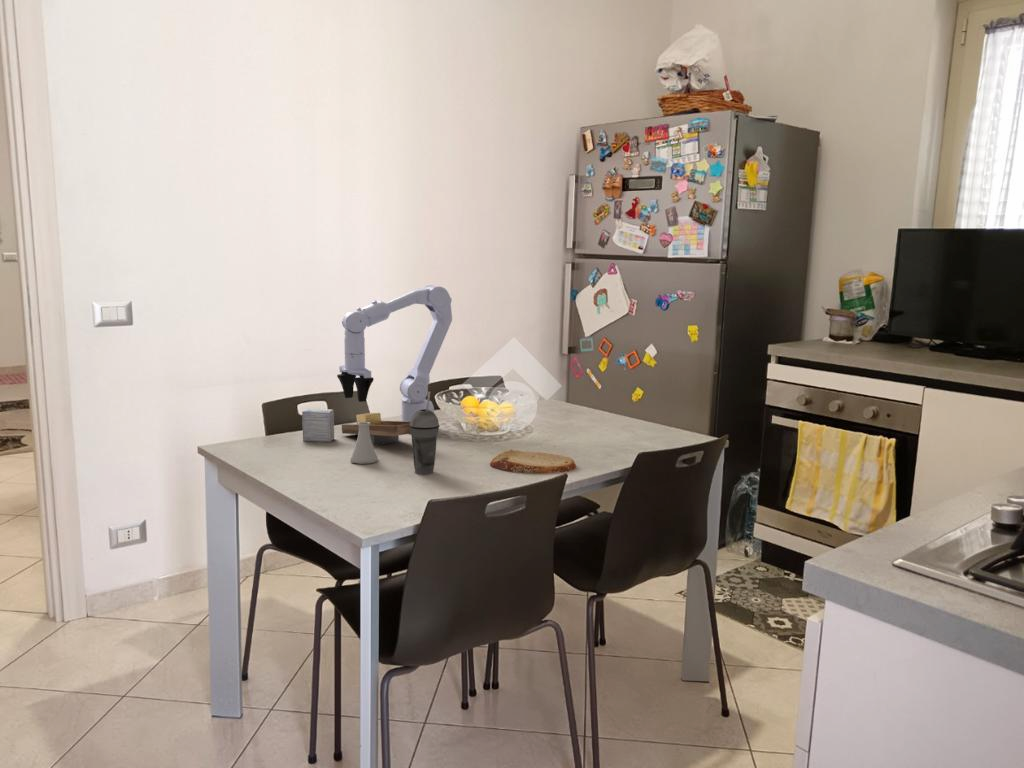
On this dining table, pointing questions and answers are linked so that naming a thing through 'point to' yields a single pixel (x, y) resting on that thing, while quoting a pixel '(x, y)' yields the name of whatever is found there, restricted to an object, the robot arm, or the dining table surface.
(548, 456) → the slice of bread
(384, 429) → the beam
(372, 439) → the fulcrum
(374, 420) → the wood grain cube
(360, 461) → the flask
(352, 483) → the dining table surface
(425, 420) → the beverage cup
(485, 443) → the dining table surface
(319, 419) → the grey streaked box
